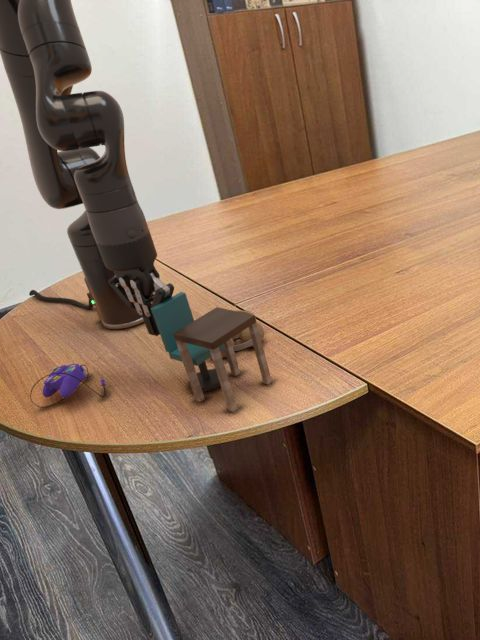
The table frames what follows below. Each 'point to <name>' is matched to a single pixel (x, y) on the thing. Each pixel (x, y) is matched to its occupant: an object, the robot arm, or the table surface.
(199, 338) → the desk
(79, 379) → the game controller
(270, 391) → the table surface
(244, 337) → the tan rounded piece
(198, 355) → the chair
